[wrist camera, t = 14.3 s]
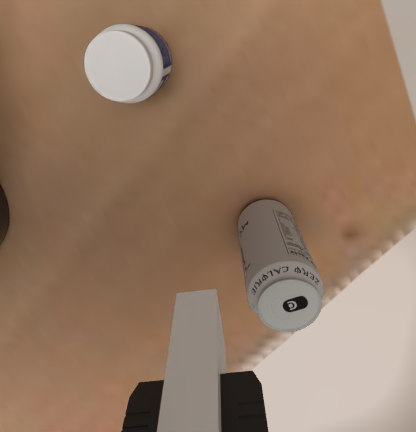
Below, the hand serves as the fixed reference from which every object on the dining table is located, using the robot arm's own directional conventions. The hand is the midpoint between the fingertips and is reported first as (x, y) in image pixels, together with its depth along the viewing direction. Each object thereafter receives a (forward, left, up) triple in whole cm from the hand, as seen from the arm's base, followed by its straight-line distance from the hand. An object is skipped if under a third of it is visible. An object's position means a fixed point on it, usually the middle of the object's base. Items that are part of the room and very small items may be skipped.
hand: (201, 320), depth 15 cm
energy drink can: (+5, -9, -27) cm, 29 cm away
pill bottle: (-5, +9, -27) cm, 29 cm away
